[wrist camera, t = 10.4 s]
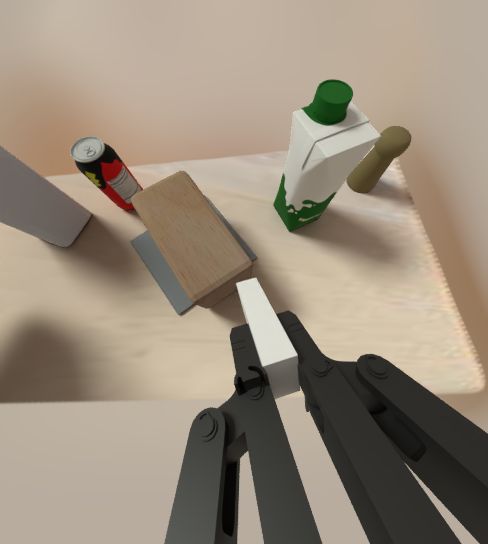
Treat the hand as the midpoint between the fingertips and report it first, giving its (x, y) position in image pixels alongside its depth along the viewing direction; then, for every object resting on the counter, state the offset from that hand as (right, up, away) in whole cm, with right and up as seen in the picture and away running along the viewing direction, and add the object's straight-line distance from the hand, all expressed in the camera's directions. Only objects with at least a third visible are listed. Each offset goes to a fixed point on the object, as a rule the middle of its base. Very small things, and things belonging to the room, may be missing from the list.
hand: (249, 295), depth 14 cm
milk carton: (+11, +14, +25) cm, 31 cm away
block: (-3, -1, +15) cm, 15 cm away
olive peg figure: (+26, +22, +28) cm, 44 cm away
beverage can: (-25, +17, +26) cm, 40 cm away
